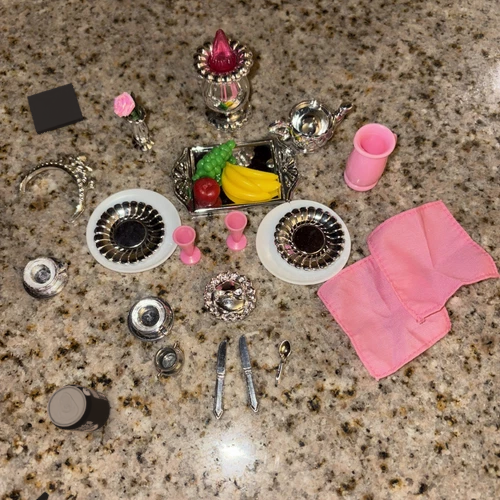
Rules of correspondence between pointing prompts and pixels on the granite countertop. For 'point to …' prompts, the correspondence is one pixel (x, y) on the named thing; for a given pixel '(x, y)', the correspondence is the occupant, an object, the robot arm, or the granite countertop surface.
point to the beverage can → (78, 408)
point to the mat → (54, 108)
